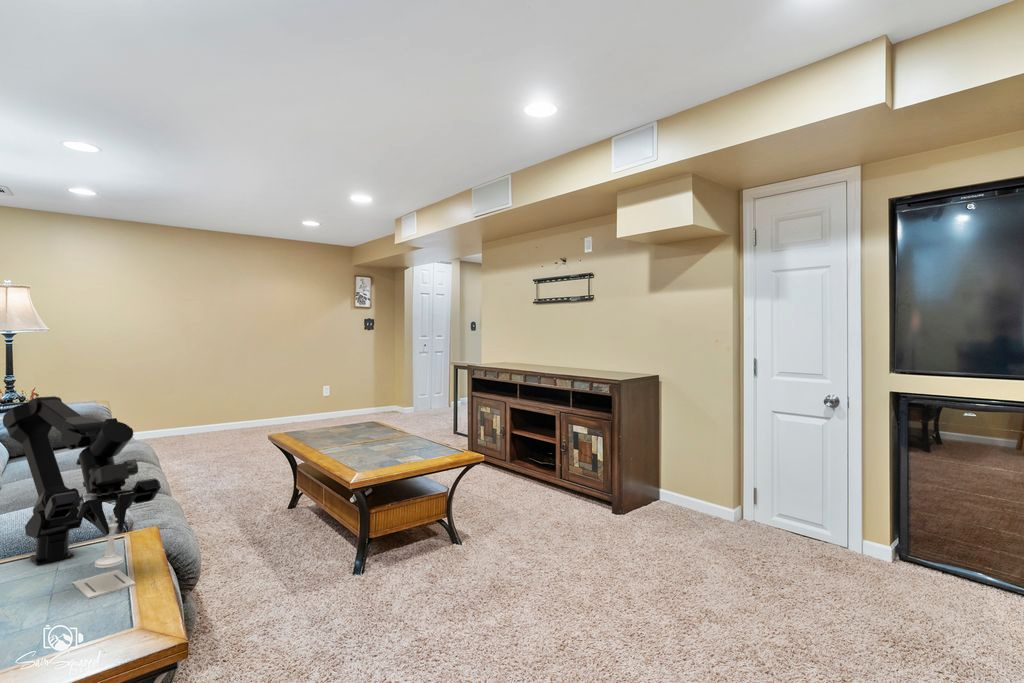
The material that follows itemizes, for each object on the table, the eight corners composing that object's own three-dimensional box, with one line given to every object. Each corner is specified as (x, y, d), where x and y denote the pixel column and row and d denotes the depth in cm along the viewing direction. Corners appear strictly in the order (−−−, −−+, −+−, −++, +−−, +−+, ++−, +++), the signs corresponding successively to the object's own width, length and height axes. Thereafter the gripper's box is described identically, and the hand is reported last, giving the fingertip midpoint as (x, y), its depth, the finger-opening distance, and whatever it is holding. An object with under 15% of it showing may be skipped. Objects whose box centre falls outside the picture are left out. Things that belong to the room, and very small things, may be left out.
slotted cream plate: (72, 583, 106) (72, 581, 106) (118, 571, 112) (118, 569, 112) (88, 599, 100) (88, 597, 100) (135, 584, 107) (135, 582, 107)
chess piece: (107, 569, 102) (111, 520, 102) (87, 565, 103) (91, 517, 103) (130, 559, 106) (133, 512, 107) (111, 556, 107) (115, 510, 108)
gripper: (53, 455, 99) (66, 524, 93) (160, 443, 115) (178, 501, 108) (39, 486, 104) (51, 554, 97) (144, 470, 119) (160, 528, 113)
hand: (114, 532), depth 104 cm, fingers closed on chess piece
